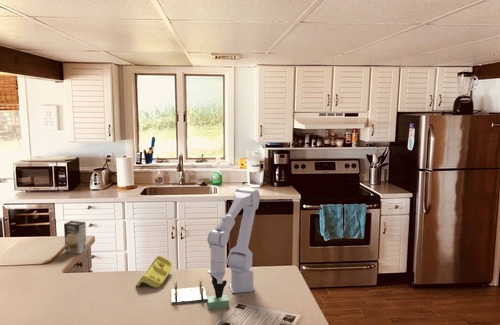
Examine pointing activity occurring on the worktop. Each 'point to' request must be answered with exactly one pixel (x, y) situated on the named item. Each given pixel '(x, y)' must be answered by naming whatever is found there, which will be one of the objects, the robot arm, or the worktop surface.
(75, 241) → the coffee box
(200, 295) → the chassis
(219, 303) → the green rectangular block
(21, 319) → the worktop surface
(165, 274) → the plastic component
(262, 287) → the worktop surface
